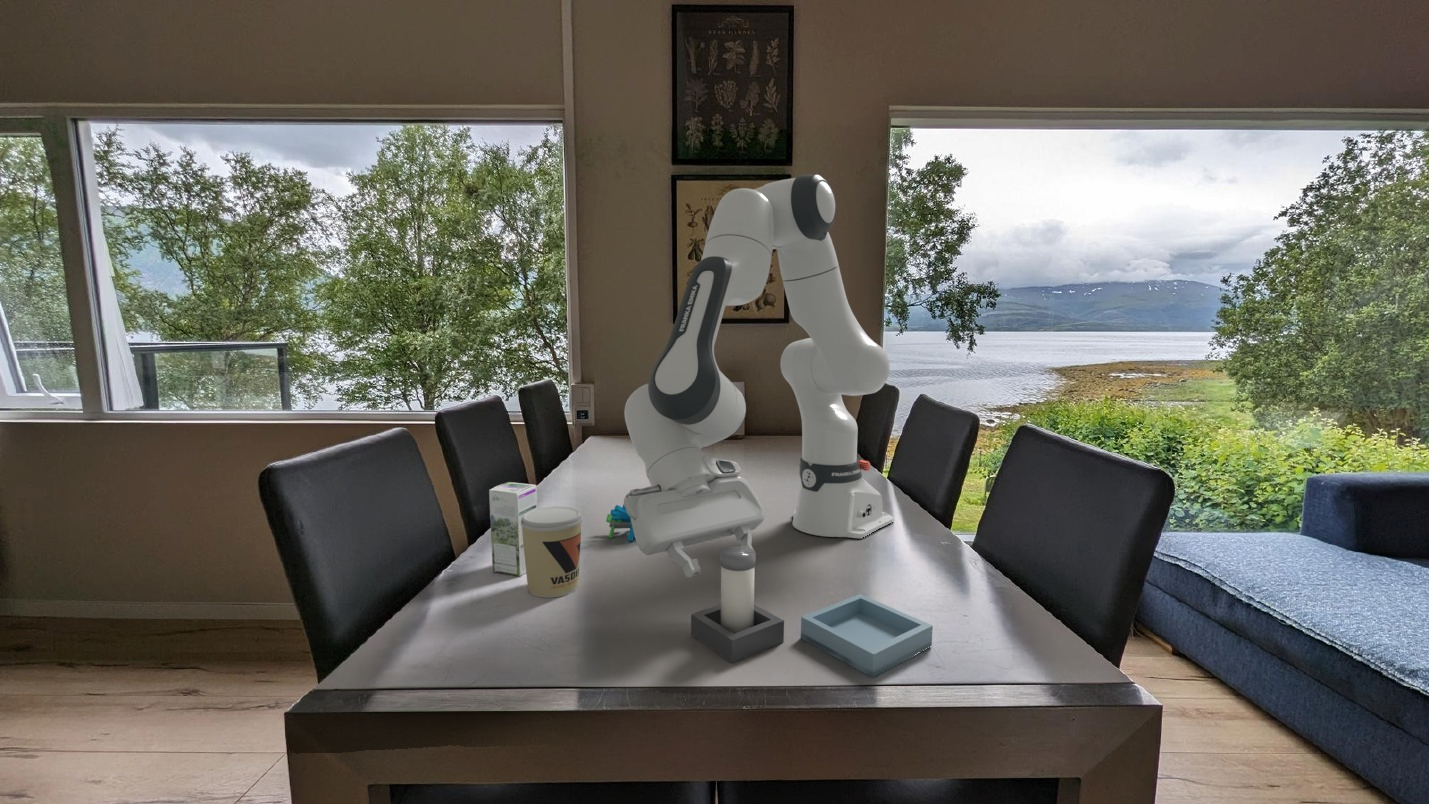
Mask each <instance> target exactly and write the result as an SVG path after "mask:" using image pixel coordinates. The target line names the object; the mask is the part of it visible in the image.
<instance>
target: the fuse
mask: <svg viewBox="0 0 1429 804" xmlns="http://www.w3.org/2000/svg"><path fill="white" fill-rule="evenodd" d="M756 555H757V554H756V551H755V549H754V548H753V549H751V548H747V547H741V545H740V546H739V545H737V546H736V545H735V546H727V547H725V548H722V549H721V551H720V561H719V563H720V576H721V577H720V604H721V625H720V626H722V627H724V628H725V629H727V630H728V631H730V632H732V633H733V634H735V633H737V632H740V631H743V630H745V629H748V628H750V627H753V626H754V605H755V571H756V570H755V567H756Z"/></svg>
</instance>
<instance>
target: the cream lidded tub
mask: <svg viewBox="0 0 1429 804" xmlns="http://www.w3.org/2000/svg"><path fill="white" fill-rule="evenodd" d="M582 522H583V516H582V514H581V511H580V510H578V509H577V508H573V507H570V506H545V507H540V508H539V507H537V509H534V510H531V511H528V512H526V513H525V514H524V515H523V517H522V519H521V526H522V535H523V546H524V556H525V565H526V573H525V574H526V583H527V588H528V589H527V590H528V593H530V595H532V596H533V597H534V596H535V597H537V598H543V599H544V598H545V599H546V598H547V599H550V598H560V597H563V596H564V597H565V596H567V595H569V594H571V593H574V592H575V591H576V590H577V589H578V587H579V582H580V581H579V577H580V559H581V541H582V539H581V538H582Z"/></svg>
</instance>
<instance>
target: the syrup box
mask: <svg viewBox="0 0 1429 804" xmlns="http://www.w3.org/2000/svg"><path fill="white" fill-rule="evenodd" d="M537 491H538V489H537V485H536V484H530V483H522V482H520V483H519V482H512V481H508V482H505V483H500V484H499V485H496V486H494V487H493V488H491V489H489V490H488V495H489V496H488V497H489V519H490V540H491V541H490V542H491V558H492V559H491V560H492V561H491V565H492V567H491V568H492V572H493V573H499V574H506V575H511V576H516V577H517V576H518V577H521V576H523V575H525V574H526V565H525V556H524V546H523V535H522V526H521V519H522V517H523V515H524V514H525V513H526V512H528V511H531V510H534V509H538V493H537Z"/></svg>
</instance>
